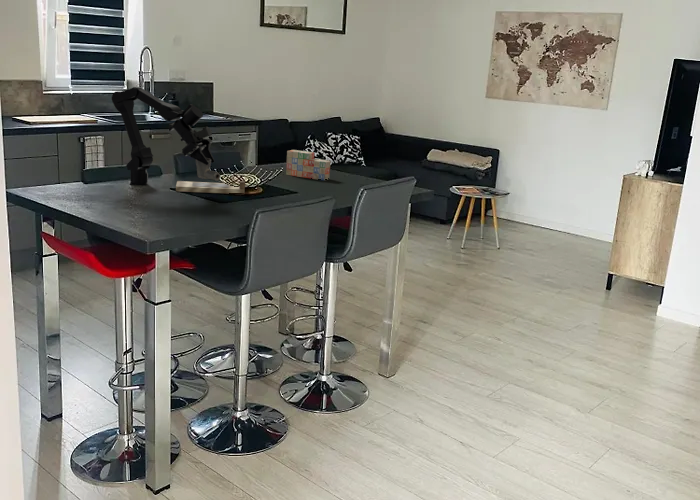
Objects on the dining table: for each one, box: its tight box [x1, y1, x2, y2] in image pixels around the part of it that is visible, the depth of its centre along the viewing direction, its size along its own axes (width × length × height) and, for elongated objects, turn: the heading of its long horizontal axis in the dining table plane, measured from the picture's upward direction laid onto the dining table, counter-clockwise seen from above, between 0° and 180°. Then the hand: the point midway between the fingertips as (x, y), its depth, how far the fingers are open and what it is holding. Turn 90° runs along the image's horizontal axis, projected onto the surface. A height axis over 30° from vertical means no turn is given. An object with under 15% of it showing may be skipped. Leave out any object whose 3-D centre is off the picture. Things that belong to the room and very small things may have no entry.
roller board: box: [175, 180, 246, 194], centre depth 294 cm, size 28×12×5 cm, turn 101°
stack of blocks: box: [285, 149, 331, 181], centre depth 344 cm, size 21×6×12 cm, turn 67°
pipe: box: [194, 157, 221, 182], centre depth 281 cm, size 6×13×8 cm, turn 52°
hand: (210, 163), depth 281 cm, fingers closed on pipe, 6 cm apart
